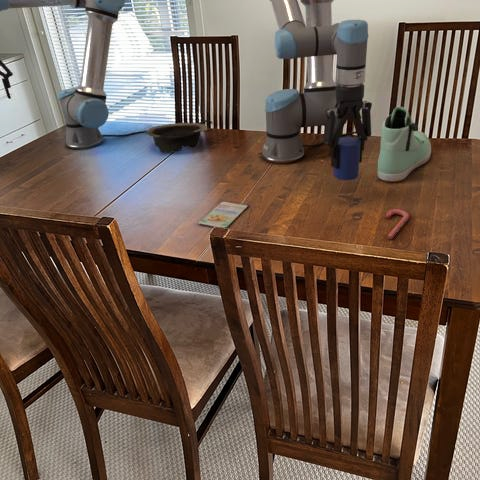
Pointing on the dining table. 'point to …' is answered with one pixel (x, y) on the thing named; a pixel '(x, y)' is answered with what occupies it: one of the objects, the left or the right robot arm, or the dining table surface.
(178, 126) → the stone bowl
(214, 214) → the baking ingredient package
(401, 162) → the sneaker
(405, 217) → the candy cane
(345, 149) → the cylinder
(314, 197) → the dining table surface
